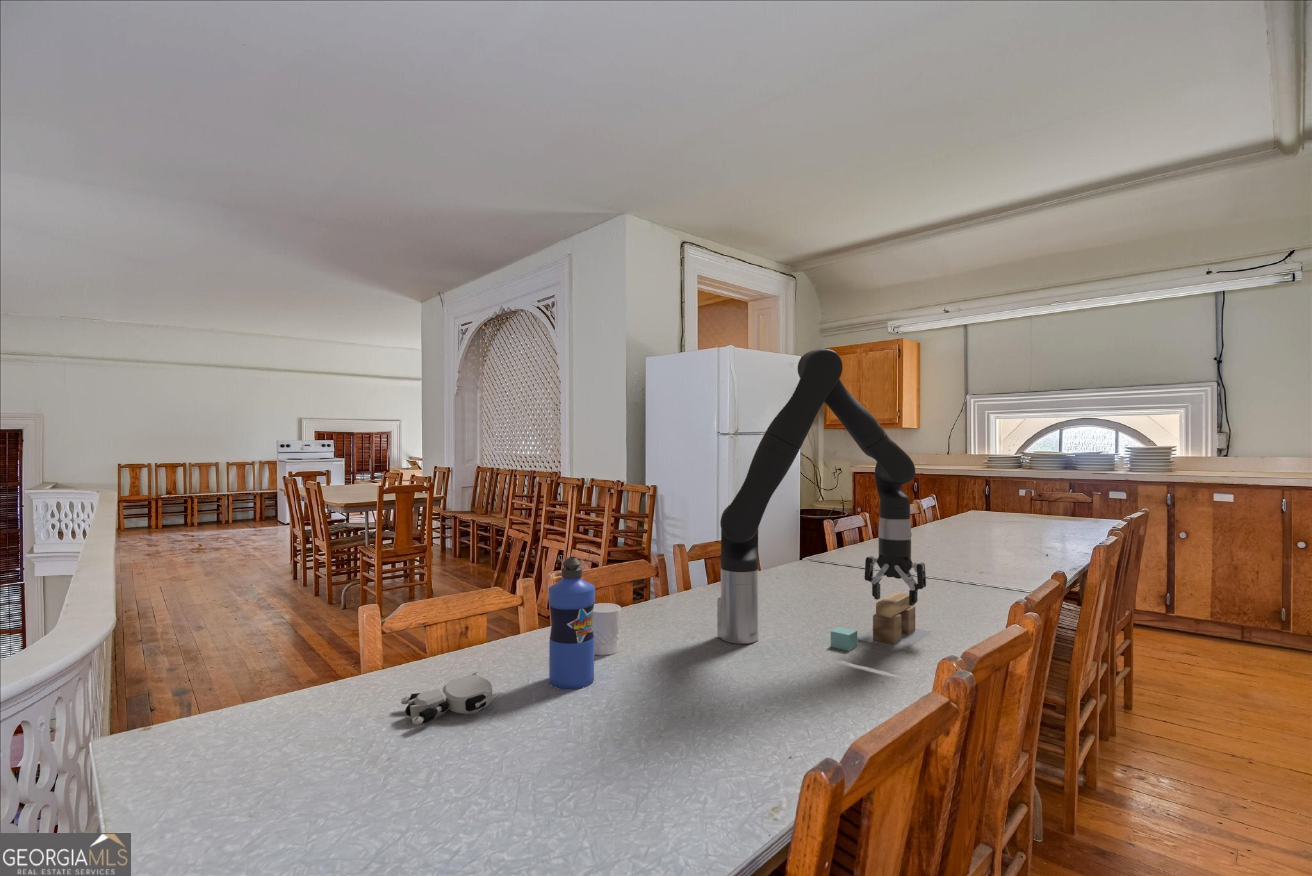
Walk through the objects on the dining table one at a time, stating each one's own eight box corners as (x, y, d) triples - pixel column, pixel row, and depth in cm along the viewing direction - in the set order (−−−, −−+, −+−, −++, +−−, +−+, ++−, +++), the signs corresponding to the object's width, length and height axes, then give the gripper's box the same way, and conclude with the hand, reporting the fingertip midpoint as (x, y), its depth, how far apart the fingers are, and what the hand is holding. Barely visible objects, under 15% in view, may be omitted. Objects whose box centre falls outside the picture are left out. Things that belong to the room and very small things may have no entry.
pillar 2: (888, 630, 157) (888, 606, 157) (895, 626, 161) (895, 603, 161) (908, 634, 154) (908, 610, 154) (915, 630, 158) (915, 606, 158)
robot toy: (414, 742, 103) (502, 713, 111) (412, 715, 103) (500, 688, 111) (399, 714, 113) (481, 690, 122) (397, 690, 113) (479, 667, 121)
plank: (876, 615, 150) (876, 603, 150) (897, 603, 160) (897, 592, 160) (890, 618, 147) (890, 605, 147) (910, 606, 158) (910, 594, 158)
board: (856, 642, 151) (856, 638, 151) (884, 625, 164) (884, 622, 164) (906, 653, 143) (906, 649, 143) (931, 634, 157) (931, 631, 157)
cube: (830, 650, 145) (830, 631, 145) (839, 645, 149) (839, 626, 149) (849, 654, 142) (849, 635, 142) (857, 649, 146) (857, 630, 146)
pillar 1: (872, 640, 150) (872, 615, 150) (880, 635, 153) (880, 611, 153) (893, 644, 146) (893, 619, 146) (901, 639, 150) (901, 614, 150)
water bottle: (604, 680, 127) (604, 557, 127) (568, 694, 120) (568, 564, 120) (574, 668, 133) (575, 551, 133) (539, 681, 126) (539, 557, 126)
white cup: (580, 653, 143) (580, 610, 143) (596, 643, 150) (596, 601, 150) (611, 658, 140) (611, 613, 140) (626, 647, 147) (626, 605, 147)
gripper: (860, 535, 156) (860, 600, 155) (919, 541, 146) (919, 610, 146) (872, 531, 161) (872, 594, 161) (929, 537, 152) (929, 604, 152)
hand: (894, 602), depth 154 cm, fingers open, 8 cm apart
